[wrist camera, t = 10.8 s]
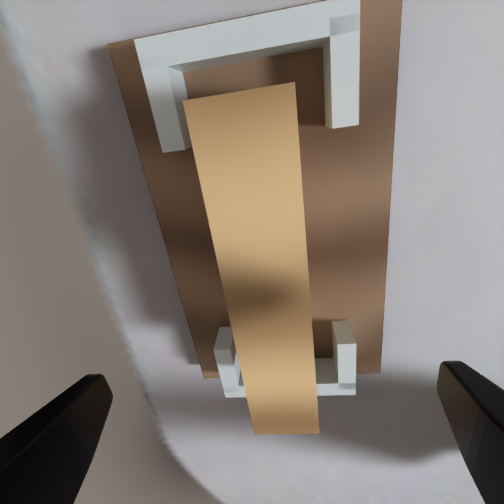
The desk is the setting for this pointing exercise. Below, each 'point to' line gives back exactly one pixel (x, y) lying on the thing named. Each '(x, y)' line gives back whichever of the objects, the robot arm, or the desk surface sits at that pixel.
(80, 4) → the desk surface
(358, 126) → the holder
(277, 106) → the tan wooden bar
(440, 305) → the desk surface
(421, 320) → the desk surface
